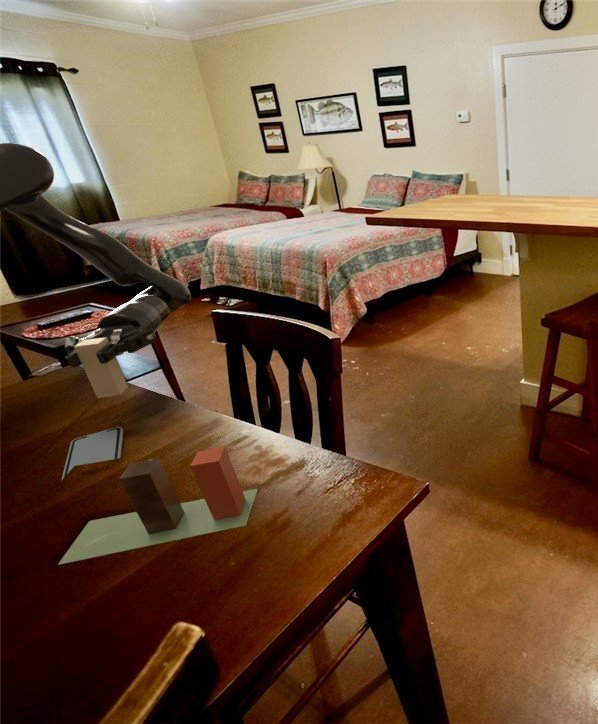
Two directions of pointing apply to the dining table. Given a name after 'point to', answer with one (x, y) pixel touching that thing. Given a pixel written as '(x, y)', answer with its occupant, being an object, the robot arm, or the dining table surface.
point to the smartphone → (94, 448)
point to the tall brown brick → (152, 495)
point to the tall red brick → (218, 483)
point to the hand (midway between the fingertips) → (86, 360)
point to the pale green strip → (132, 533)
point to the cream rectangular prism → (100, 369)
